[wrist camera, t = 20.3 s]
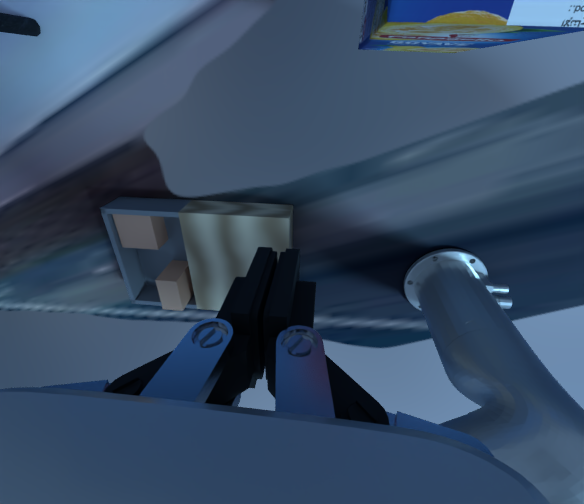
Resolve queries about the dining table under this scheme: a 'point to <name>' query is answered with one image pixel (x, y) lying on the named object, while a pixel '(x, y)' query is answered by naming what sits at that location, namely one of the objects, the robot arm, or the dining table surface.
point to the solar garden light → (18, 25)
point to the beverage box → (464, 23)
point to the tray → (147, 262)
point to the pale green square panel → (229, 242)
